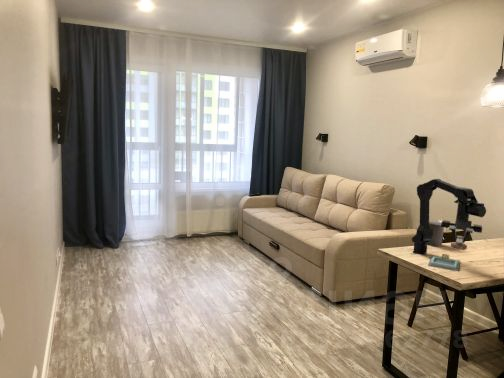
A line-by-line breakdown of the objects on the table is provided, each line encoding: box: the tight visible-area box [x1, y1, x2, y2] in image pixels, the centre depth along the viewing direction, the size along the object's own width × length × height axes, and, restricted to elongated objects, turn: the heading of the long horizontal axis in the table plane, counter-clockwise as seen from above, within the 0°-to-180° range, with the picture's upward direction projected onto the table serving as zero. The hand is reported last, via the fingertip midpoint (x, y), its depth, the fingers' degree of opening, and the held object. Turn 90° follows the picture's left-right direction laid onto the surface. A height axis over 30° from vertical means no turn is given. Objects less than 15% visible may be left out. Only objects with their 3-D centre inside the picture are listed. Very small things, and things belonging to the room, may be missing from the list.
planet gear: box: [450, 235, 468, 251], centre depth 213 cm, size 7×7×6 cm
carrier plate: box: [427, 253, 461, 272], centre depth 217 cm, size 14×18×3 cm
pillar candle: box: [427, 220, 445, 247], centre depth 254 cm, size 10×10×15 cm
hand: (459, 242), depth 213 cm, fingers closed on planet gear, 4 cm apart
